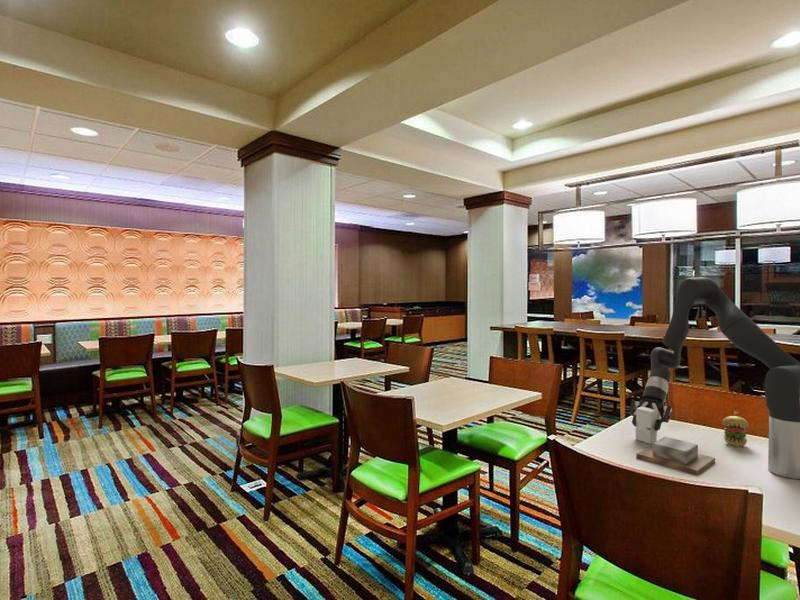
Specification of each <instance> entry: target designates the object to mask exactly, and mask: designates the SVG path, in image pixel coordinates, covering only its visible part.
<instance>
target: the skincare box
mask: <svg viewBox="0 0 800 600" xmlns="http://www.w3.org/2000/svg"><path fill="white" fill-rule="evenodd" d="M635 412H636V427H635V435H634V438H635V440H636V441H640V442H642V441H643V443H646V444H648V443H649V444H650V445H651V443H652V444H653V443H654V442H656V441H658V439H657V437H658V431H655V429H654V427H655V423H656V420H657V419H658V418H657V416H658V411H657V410H654V409H651V408H646V407H640V406H639V407H636V409H635ZM649 444H648V445H649Z"/></svg>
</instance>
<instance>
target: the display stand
mask: <svg viewBox="0 0 800 600" xmlns="http://www.w3.org/2000/svg"><path fill="white" fill-rule="evenodd" d="M638 458H640V459H639V460H642V459H643V460H642V461H645V460H646V462H650V463H653V464H657V465H660V466H664V467H667V468H670V469H674V470H678V471H681V472H684V473H688V474H691V475H695V476H698V475H700V474H701V473H702V472H704V471H705V470H707V469H708V468H709V467H711V466H712V465H713V464H715V463H716V457H713V456H710V455H705V454H701V453H699V444H698V443H692V442H689V441H685V440H681V439H676V438H672V437H668V436H664V437H661V438H659V439H657V441H656V442H654V443H652V445H651V444H650V446H648V447H646V448H644V449H642V450H640V451H638V452H637V453H636V459H638Z"/></svg>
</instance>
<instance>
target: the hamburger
mask: <svg viewBox="0 0 800 600" xmlns="http://www.w3.org/2000/svg"><path fill="white" fill-rule="evenodd" d="M733 414H734V415H729V416H726V417H724V418H723V419H722V425H723V426H725V427H724V428H723V430H724V431H723V434H724V435H723V439H724V441H725V442H726V443H727V444H729V445H731V446H733V447H737V446H740V447H744V446H745V445H746V444H747V443H748V439H747V434H748V432H747V430H746V428H748V427H749V422H748V420H746V419H745V418H743V417H741V416H738V415H737V414H739V411H736V410H733ZM736 415H737V416H736Z"/></svg>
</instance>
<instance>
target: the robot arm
mask: <svg viewBox="0 0 800 600" xmlns="http://www.w3.org/2000/svg"><path fill="white" fill-rule="evenodd" d="M700 302H701V303H703V304H705V305H706V306H707V307H708V308H710V310H712V312H713V313H714V314H715V317H716V319H717V324H718V328H719V330H720V331H721V333H722V334H723V335H724V337H726V338H727V340H729V341H730V342H731V344H733V345H734V346H735V347H736V348H738V349H739V350H741V351H742V352H744V353H746V354H748V355H749V356H752V357H753V358H755V359H757V360H758V361H761V363H763V364H764V365H765V366H767V367H768V368H769V370H768V371H767V372H766V374H765V378H764V379H765V380H764V388H765V389H764V391H765V392H764V393H765V405H766V407H767V410H768V451H767V452H768V455H767V457H768V461H767V468H768V471H769V472H771V473H773V474H774V475H777V476H780V477H783V478H784V477H785V478H788V479H795V480H800V362H799V361H798V360H797V359H795V358H794V357H793V356H792V355H790V354H789V353H788V352H786V350H784V349H783V348H782V347H781V346H779V345H778V344H777V343H776V342H775V341H774V340H773V339H772V338H771V337H770V336H769V335H768V334H767V333H766V332H764V330H763V329H761V328H760V327H759V326H758V324H756V323H755V322H754V320H752V319H751V318H750V317H749V316H748V315H747V314H746V313H744V311H742V310H741V309H740V308H739V307H738V306H737V305H736V304H735V303H734V302H733V301H732V300H731V299H730V298H729V296H727V295H726V294H725V292H724V291H723V290H722V289H721V287H720V285H718V284H717V283H716V282H715V281H714V280H712V278H709V277H704V276H702V277H686V278H684V279H683V280H682V281H681V282H680V284H679V286H678V289H677V293H676V297H675V302H674V304H673V305H674V306H673V310H672V314H671V315H672V316H671V319H670V321H669V323H668V324H669V325H668V327H667V329H666V332H665V333H664V336H663V338H662V344H663V345H664V346H665V347H667V348H668V349H667V348H663V347H659V346H658V347H655V348H653V349H652V351H651V353H650V374H649V376H648V380H647V382H646V384H645V386H644V390H643V394H642V397H641V400H640V401H638V400H635V399H632V400H631V401H630V407H629V410H628V411H629V414H630V416H632V419H631V423H632V425H633V426H634V427H635V428H636V409H637V408H638V406H639V407H646V408H651V409H654V410H657V411H658V416H657V420H656V423H655V427H654V429H655V431H657V432H658V431H660V430H661V427H662V424H663V423H665V424H667V423H669V422H670V419H671V416H672V413H673V409H672V405H666V406H665V401H666V398H667V395H668V391H669V384H670V380H671V376H672V372H671V371H670V370H675V369H677V368H678V367H679V366H680V365H681V359H682V357H681V356H682V350H683V346H684V343H685V341H686V339H687V337H688V334H689V332H690V322H689V312H690V310H691V308H692V306H693V305H694V303H700ZM662 411H664V414H663V416H661V412H662Z"/></svg>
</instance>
